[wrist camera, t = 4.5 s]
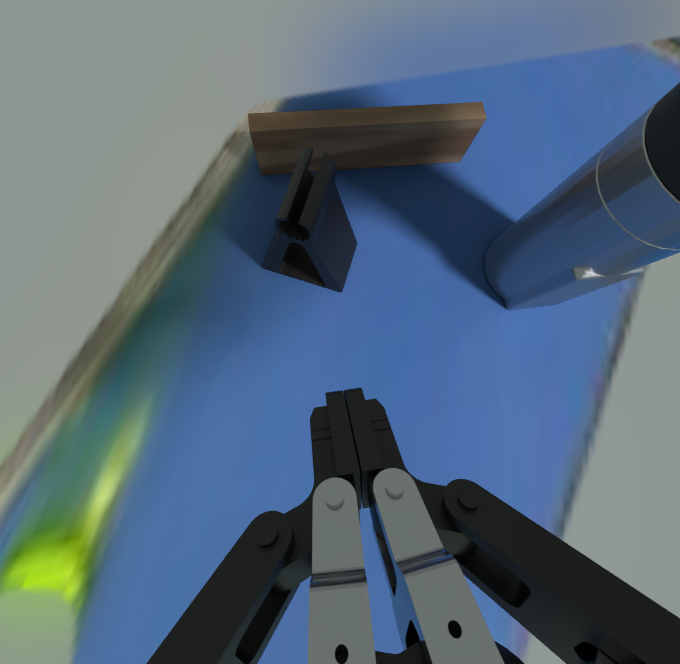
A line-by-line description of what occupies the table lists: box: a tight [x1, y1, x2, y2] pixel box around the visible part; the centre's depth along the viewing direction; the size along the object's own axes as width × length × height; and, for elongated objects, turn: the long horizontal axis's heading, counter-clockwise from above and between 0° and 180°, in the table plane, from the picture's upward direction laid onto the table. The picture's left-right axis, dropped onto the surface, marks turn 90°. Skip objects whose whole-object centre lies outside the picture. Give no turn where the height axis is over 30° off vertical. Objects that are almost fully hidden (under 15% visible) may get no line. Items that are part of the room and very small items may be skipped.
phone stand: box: [262, 148, 357, 292], centre depth 27 cm, size 9×6×12 cm, turn 73°
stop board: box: [248, 102, 486, 175], centre depth 33 cm, size 2×24×6 cm, turn 98°
